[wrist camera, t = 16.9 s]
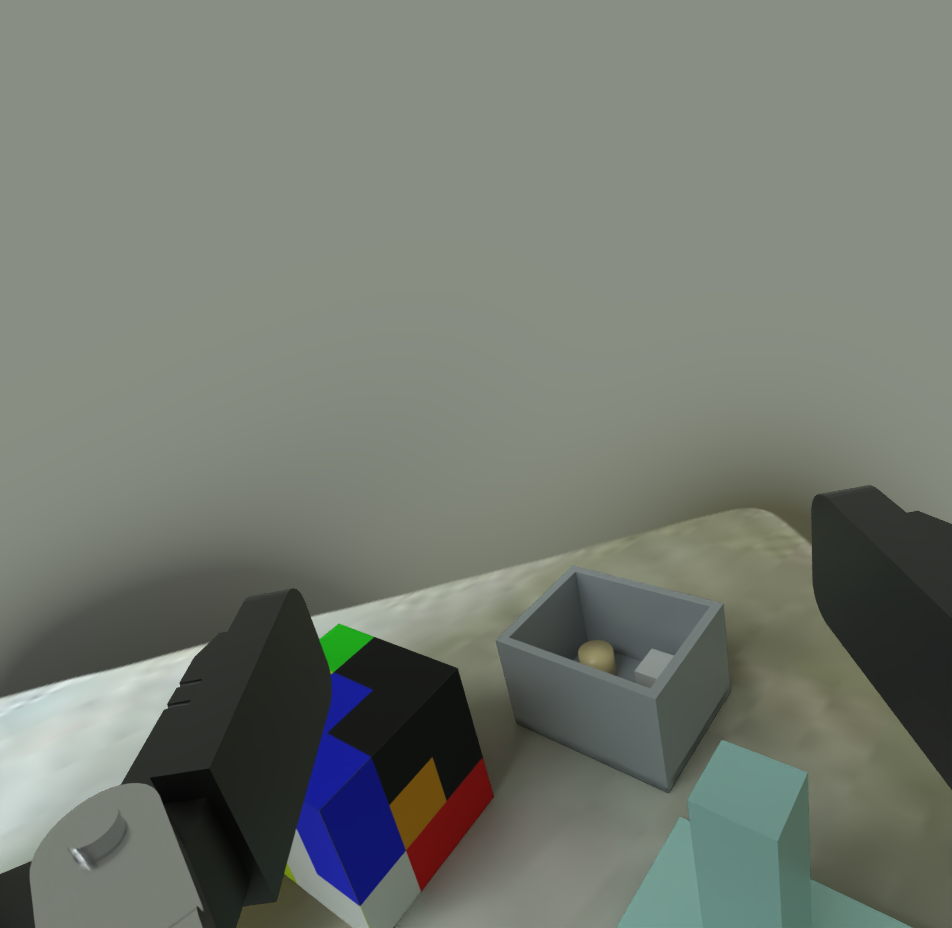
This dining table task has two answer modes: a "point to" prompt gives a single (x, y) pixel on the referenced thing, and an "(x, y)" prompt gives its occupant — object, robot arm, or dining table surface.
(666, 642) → the tub
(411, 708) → the puzzle toy
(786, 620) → the dining table surface
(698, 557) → the dining table surface
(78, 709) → the dining table surface
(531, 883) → the dining table surface
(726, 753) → the lid
